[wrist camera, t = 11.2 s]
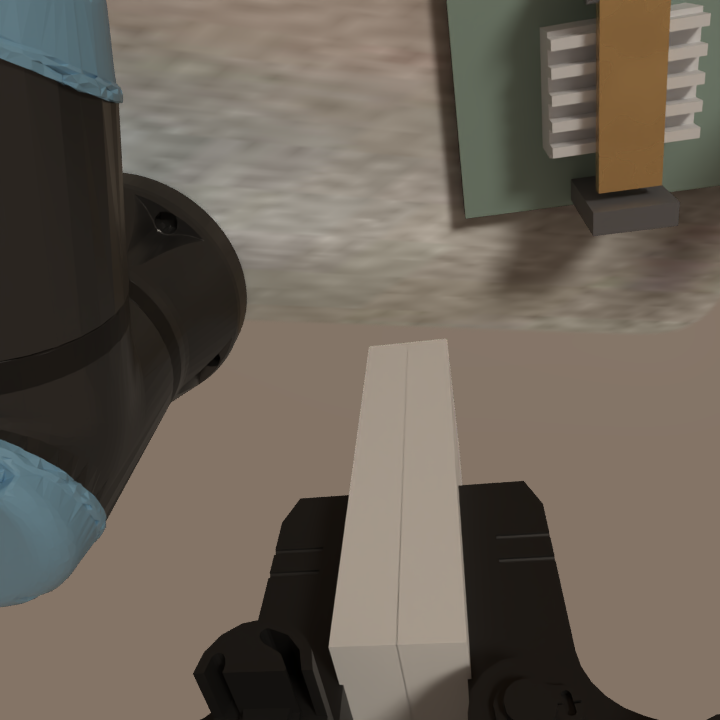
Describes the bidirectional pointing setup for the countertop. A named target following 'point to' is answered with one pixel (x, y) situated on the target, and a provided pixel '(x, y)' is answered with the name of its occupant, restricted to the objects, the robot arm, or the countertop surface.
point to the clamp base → (516, 109)
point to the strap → (630, 92)
